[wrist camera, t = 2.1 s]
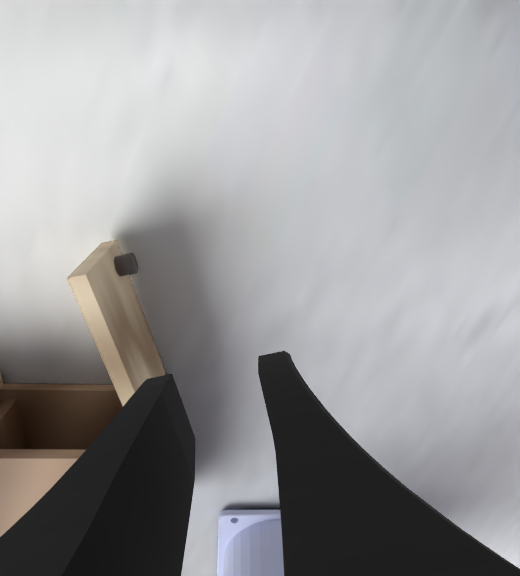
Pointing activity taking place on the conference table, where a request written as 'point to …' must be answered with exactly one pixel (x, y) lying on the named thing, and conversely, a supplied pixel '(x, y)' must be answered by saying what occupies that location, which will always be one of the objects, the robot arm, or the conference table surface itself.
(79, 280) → the left door
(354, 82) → the conference table surface
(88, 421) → the box
